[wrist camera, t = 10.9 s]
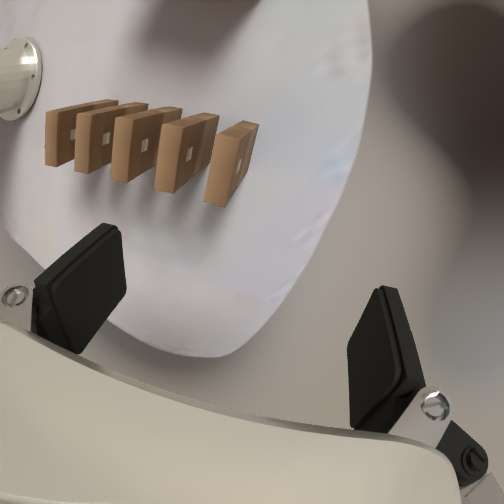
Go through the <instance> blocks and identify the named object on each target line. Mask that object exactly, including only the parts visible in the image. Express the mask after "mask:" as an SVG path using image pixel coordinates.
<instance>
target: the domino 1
mask: <svg viewBox="0 0 504 504" xmlns="http://www.w3.org/2000/svg"><path fill="white" fill-rule="evenodd" d="M117 105H118V100H102V101H96V102H90V103H85V104H80V105H75V106H70V107H65V108H61V109H56V110H52V111H48V112H46V125H45V165H48V166H53V167H58V166H60V165H62V164H64V163H66V162H69V161H71V160H73V159H75V135H76V119H77V114H78V113H83V112H87V111H92V110H96V109H101V108H106V107H111V106H117Z"/></svg>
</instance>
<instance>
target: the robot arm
mask: <svg viewBox="0 0 504 504" xmlns="http://www.w3.org/2000/svg"><path fill="white" fill-rule="evenodd" d="M41 73H42V63H41V55H40V51H39V49H38V46H37V45H36V43H35V42H34V41H33V40H31V39H29V38H18V39H15V40H13V41H11V42H10V43H9V44H8V45H7V46H6V47H5V48H4V49H3V50H0V117H1V118H2V119H4V120H7V121H13V120H16V119H19V118H21V117H22V116H24V115H25V114H26V113H27V112H28V110H29V109H30V107H31V106H32V104H33V102H34V100H35V98H36V95H37V93H38V89H39V85H40V81H41ZM34 283H35V286H36V287H35V288H34V289H32V288H31V286H30V285H28V284H27V283H16V284H12V285H10V286H8V287H7V288H5V289H4V290H3V291H2V292H1V294H0V504H504V493H503V492H502V490H501V488H500V486H499V484H498V483H497V481H496V479H495V478H494V476H493V474H492V473H491V472H490V473H488V474H487V472H486V471H487V468H488V457H487V454H486V452H485V450H484V449H483V448H482V447H481V446H480V445H479V444H478V443H477V442H476V441H475V440H474V439H472V438H471V437H470V436H469V435H468V434H467V433H466V432H465V431H463V430H462V429H461V428H460V427H459V426H458V425H457V424H456V423H454V422H453V421H452V420H451V419H452V416H453V404H452V401H451V399H450V398H449V396H448V395H447V394H446V393H445V392H444V391H443V390H441V389H439V388H437V387H433V386H427V387H426V384H425V380H424V376H423V372H422V368H421V364H420V360H419V357H418V353H417V349H416V346H415V342H414V339H413V335H412V332H411V330H410V327H409V323H408V320H407V317H406V314H405V311H404V307H403V304H402V301H401V299H400V296H399V293H398V290H397V289H396V288H392V287H387V286H383V285H382V286H380V287H379V289H377V288H376V289H374V291H373V293H372V295H371V297H370V300H369V302H368V304H367V306H366V308H365V310H364V312H363V314H362V316H361V318H360V320H359V323H358V324H357V326H356V328H355V330H354V332H353V334H352V336H351V338H350V340H349V342H348V346H347V358H348V375H349V376H348V377H349V402H350V403H349V404H350V426H351V428H354V430H350V429H340V428H333V427H325V426H317V425H312V424H305V423H298V422H292V421H286V420H280V419H275V418H270V417H264V416H260V415H255V414H250V413H246V412H242V411H237V410H233V409H229V408H225V407H221V406H217V405H213V404H210V403H206V402H203V401H199V400H196V399H192V398H189V397H185V396H182V395H179V394H176V393H173V392H170V391H167V390H164V389H161V388H158V387H155V386H152V385H149V384H147V383H144V382H141V381H138V380H136V379H133V378H130V377H128V376H125V375H123V374H120V373H118V372H115V371H113V370H110V369H108V368H106V367H103V366H101V365H98V364H96V363H94V362H92V361H89V360H87V359H85V358H83V357H81V356H79V355H77V354H80V353H82V351H83V350H84V349H85V347H86V346H87V345H88V343H89V342H90V340H91V339H92V338H93V336H94V335H95V334H96V332H97V331H98V330H99V328H100V327H101V325H102V324H103V323H104V322H105V320H106V319H107V318H108V316H109V315H110V314H111V312H112V311H113V310H114V308H115V307H116V306H117V305H118V303H119V302H120V301H121V299H122V298H123V297H124V295H125V293H126V289H127V286H126V278H125V269H124V260H123V249H122V237H121V232H120V231H119V230H118V228H117V226H115V225H111V224H106V223H102V224H100V225H99V226H98V227H96V228H95V229H94V230H93V231H91V232H90V233H89V234H87V235H86V236H85V237H84V238H83V239H81V240H80V241H79V242H78V243H76V244H75V245H74V246H73V247H72V248H70V249H69V250H68V251H67V252H66V253H64V254H63V255H62V256H61V257H60V258H59V259H57V260H56V261H55V262H54V263H53V264H52V265H51V266H49V267H48V268H47V269H46V270H45V271H44V272H43V273H42V274H41V275H39V276H38V277H37V278H36V279H35V280H34Z"/></svg>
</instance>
